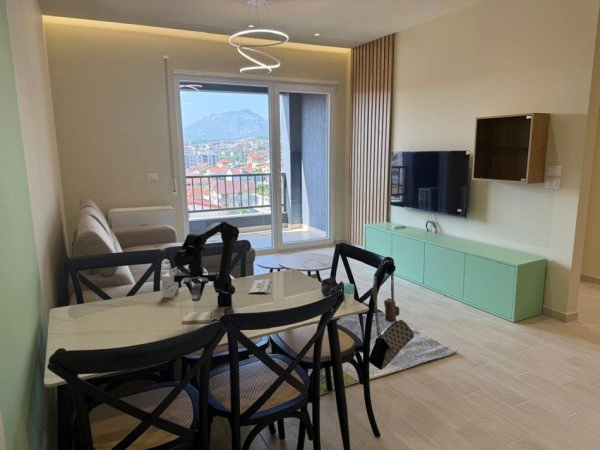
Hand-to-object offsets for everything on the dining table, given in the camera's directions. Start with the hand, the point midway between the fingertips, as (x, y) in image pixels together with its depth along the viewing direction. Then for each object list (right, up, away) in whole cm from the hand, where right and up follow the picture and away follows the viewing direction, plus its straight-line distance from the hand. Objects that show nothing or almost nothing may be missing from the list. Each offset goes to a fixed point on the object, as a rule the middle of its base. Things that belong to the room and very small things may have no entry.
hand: (196, 295), depth 187 cm
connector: (0, -1, 0) cm, 1 cm away
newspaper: (+25, -4, +47) cm, 53 cm away
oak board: (0, -11, +2) cm, 11 cm away
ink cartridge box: (-22, -6, +33) cm, 40 cm away
